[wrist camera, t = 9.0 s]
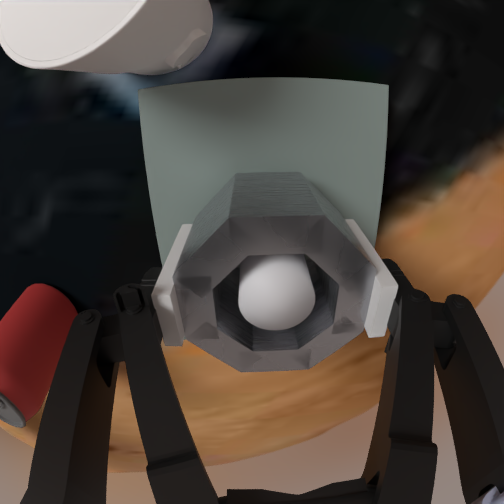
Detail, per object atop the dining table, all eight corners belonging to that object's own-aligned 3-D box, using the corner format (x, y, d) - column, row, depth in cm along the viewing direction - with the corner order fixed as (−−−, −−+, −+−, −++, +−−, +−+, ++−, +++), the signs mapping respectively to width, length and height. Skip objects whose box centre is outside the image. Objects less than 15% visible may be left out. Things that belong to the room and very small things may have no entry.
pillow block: (183, 322, 25) (162, 413, 17) (148, 89, 17) (74, 93, 9) (351, 316, 25) (382, 403, 17) (375, 84, 16) (459, 90, 9)
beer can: (92, 309, 25) (35, 419, 14) (71, 344, 27) (26, 439, 17) (35, 266, 23) (-41, 361, 12) (22, 307, 25) (-36, 393, 15)
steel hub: (206, 299, 20) (193, 372, 15) (191, 175, 16) (162, 220, 11) (331, 294, 20) (354, 364, 15) (342, 172, 16) (386, 214, 11)
